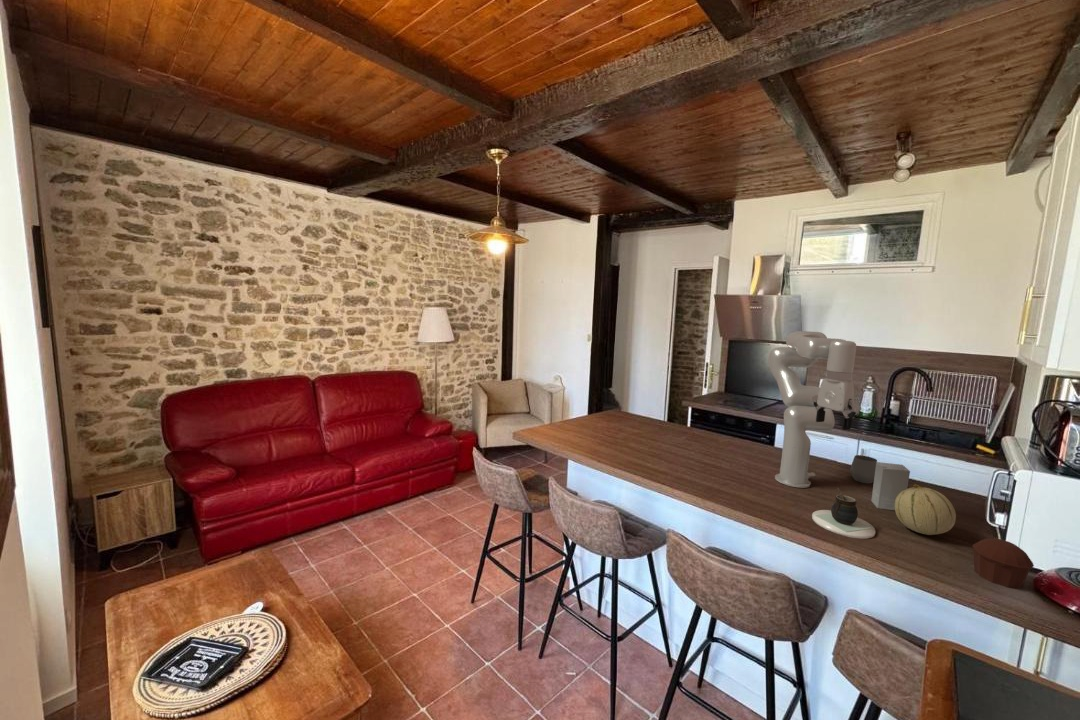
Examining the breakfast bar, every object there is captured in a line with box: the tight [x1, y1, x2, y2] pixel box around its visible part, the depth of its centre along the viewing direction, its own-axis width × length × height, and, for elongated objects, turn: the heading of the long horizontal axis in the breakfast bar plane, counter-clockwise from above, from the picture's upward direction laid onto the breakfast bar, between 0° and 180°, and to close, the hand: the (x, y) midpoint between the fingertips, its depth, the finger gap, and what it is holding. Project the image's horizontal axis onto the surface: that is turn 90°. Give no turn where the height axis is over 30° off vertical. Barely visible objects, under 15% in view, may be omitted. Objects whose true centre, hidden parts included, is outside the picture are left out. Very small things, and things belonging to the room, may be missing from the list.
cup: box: [849, 454, 878, 484], centre depth 182 cm, size 10×9×10 cm
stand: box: [811, 509, 876, 540], centre depth 143 cm, size 17×17×1 cm
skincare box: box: [870, 461, 911, 511], centre depth 157 cm, size 8×7×16 cm
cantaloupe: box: [894, 484, 957, 536], centre depth 140 cm, size 15×15×15 cm
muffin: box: [972, 537, 1035, 589], centre depth 116 cm, size 12×11×10 cm
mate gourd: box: [830, 487, 859, 525], centre depth 142 cm, size 7×8×10 cm
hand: (832, 425), depth 151 cm, fingers open, 9 cm apart
